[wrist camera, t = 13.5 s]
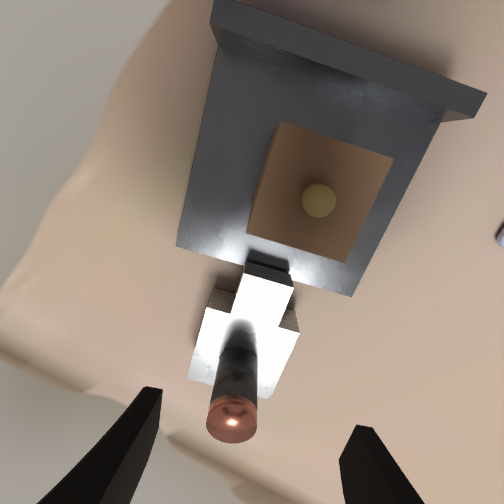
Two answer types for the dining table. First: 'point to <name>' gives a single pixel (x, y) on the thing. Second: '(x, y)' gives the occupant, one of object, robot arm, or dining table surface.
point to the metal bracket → (309, 117)
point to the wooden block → (315, 192)
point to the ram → (244, 349)
